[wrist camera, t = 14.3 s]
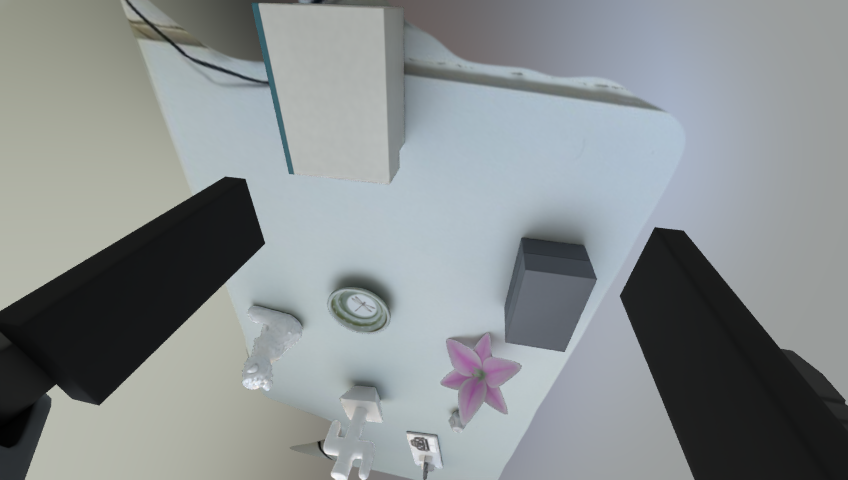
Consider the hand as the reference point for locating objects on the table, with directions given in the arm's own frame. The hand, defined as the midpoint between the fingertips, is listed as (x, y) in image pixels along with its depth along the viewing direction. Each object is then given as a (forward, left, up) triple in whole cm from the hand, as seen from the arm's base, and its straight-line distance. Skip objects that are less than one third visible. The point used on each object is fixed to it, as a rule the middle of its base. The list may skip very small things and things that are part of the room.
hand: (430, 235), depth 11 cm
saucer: (+25, +23, -25) cm, 42 cm away
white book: (+9, -4, -19) cm, 21 cm away
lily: (+11, +37, -25) cm, 46 cm away
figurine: (+37, +46, -25) cm, 64 cm away
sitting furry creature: (+42, +24, -25) cm, 54 cm away
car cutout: (+34, +69, -25) cm, 81 cm away
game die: (+21, +55, -25) cm, 64 cm away
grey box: (-1, +25, -25) cm, 35 cm away
